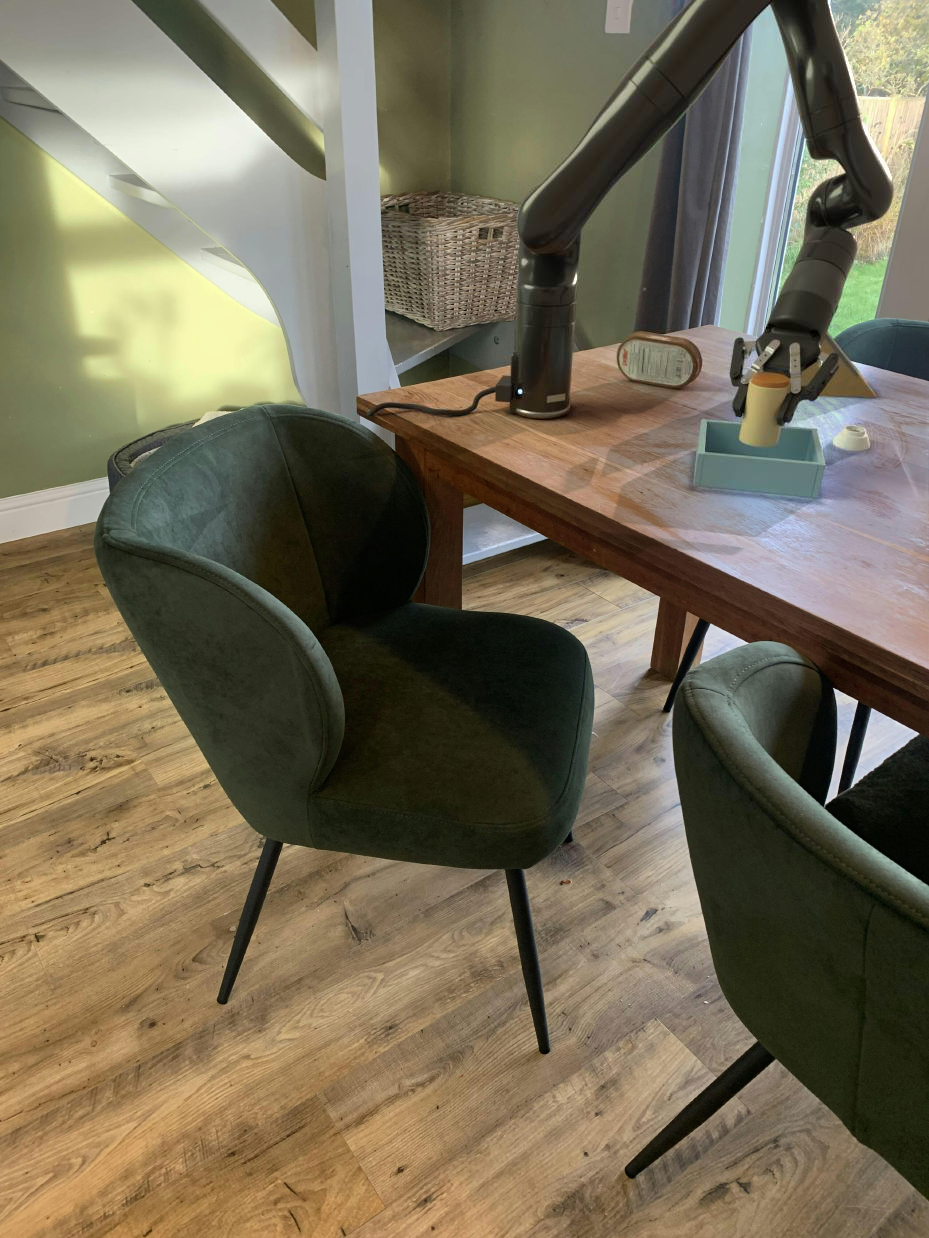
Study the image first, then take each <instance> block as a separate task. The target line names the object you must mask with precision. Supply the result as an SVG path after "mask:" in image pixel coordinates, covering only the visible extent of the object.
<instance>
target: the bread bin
mask: <svg viewBox="0 0 929 1238" xmlns="http://www.w3.org/2000/svg"><path fill="white" fill-rule="evenodd" d="M741 424H742V421H741V422H739V421H730V420H728V421H727V420H719V419H706V418H701V420H700V425H699V433H698V439H697V445H696V451H695V452H696V454H695V464H694V473H693V482H692V486H693V487H698V488H708V489H718V490H728V491H739V492H748V493H757V494H758V493H759V494H768V495H778V496H787V497H798V498H799V497H800V498H806V499H807V498H808V499H819V495H820V490H821V488H822V483H823V479H824V474H825V471H826V460H825V457H824V453H823V448H822V443H821V439H820V436H819V431H818V428H811V427H802V426H801V427H800V426H790V425H789V426H788V425H784V427H783V426H781V430H780V434H779V439H778V443H777V444H776V445H775V446H771V447H756V446H751V445H747V444H745V443H743V442H741V441H740V440H739V435H740V430H741Z"/></svg>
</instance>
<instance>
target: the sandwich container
mask: <svg viewBox="0 0 929 1238" xmlns="http://www.w3.org/2000/svg"><path fill="white" fill-rule="evenodd" d="M821 351H822V352H824V353H827V354H829V355H830V354H831V353H837V354H838V355H839V369H838V370H837V371H836V373H835V374H834V376H833V377H832V378H831V380H830V381H829V382H828V384H827V385H826V387H825V388H824V389H823V391H822V392H821V394H820V395H819V396H822V397H823V396H824V397H827V396H828V397H844V398H845V397H850V398H872V399H873V398H875V399H877V397H878V396H877V395H876V393H875V392H874V390H873V389H872V387H871V386H870V385H869V383H868V382H867V381H866V379H865V377H864V376H863V374H862V373H861V372H860V370H859V368H857V366H856V365H855V364H854V363H853V362H852V361H851V359H850V358H849V357H848V356H847V355H846V353H845V352H844V351H843V349H842V348H841V346H840V345H839V344H838V343H837V342H836V340H835V339H834V338H833V336H832V335H831V333H829V331H827V333H826V335H825V338H824V340H823V343H822V345H821ZM818 364H819V361H817V362H816V363H815V364H813V365H812V366H810V367H809V368H807V369H806V370H804V371H803V372H802V386H807V385H808V384H809V383H810V381H811V380H812V378H813V377H814V376H815V374H816V373H817V371H818V370H819V365H818ZM789 384H790V387H789V391H788V393H790V391H791V379H790V378H789Z"/></svg>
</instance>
